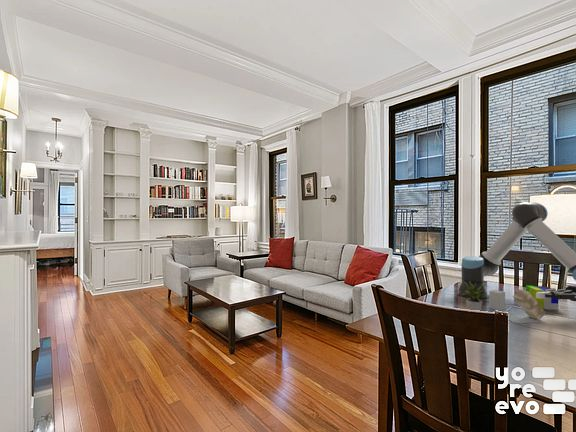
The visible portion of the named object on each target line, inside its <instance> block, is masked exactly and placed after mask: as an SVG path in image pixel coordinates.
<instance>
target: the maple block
mask: <svg viewBox="0 0 576 432" xmlns="http://www.w3.org/2000/svg"><path fill="white" fill-rule="evenodd" d="M512 297H513V299H514V300H515V301H516V303H517V304H518V305H519V306H520V308H521V309H522V310H523V312H524V313H525V314H526V315H527V317H529V318H531V319H534V320H537V321H540V320H541V319H542V318H543V316H544V315H546V311H545V309H542V308H541V306H540V305H539V304H538V303H537V301H536V300H535V299H534V298H533V296H532V295H531V294H530V293H529V292H527V291H526V290H523V289H518V290H517V291H516V292H515V293H514V295H513V296H512Z"/></svg>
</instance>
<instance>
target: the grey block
mask: <svg viewBox="0 0 576 432" xmlns="http://www.w3.org/2000/svg"><path fill="white" fill-rule="evenodd" d="M488 293H489V295H488V296H489V299H488V300H489V302H488V303H489V305H488V307H489V309H493V310H497V311H502V310H505V309H506V292H505V291H503V290H497V289H493V290H489V291H488Z"/></svg>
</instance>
